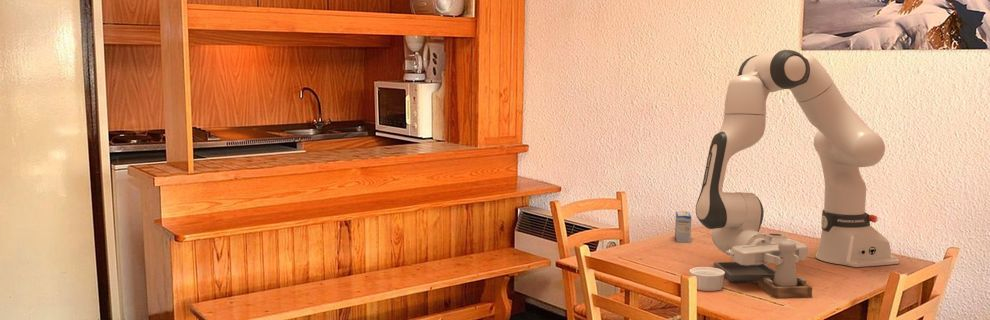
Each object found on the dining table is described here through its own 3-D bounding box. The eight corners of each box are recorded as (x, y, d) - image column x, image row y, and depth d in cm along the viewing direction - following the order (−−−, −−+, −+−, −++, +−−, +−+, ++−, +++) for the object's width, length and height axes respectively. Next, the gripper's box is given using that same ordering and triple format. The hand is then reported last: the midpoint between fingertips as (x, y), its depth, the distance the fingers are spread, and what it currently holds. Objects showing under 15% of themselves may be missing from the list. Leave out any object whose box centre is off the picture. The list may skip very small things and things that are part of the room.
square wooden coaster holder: (795, 286, 225) (795, 273, 225) (811, 297, 215) (812, 284, 215) (758, 286, 224) (758, 274, 224) (773, 298, 214) (773, 285, 214)
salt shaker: (797, 295, 216) (800, 245, 214) (773, 293, 218) (776, 243, 216) (795, 288, 222) (798, 239, 220) (772, 286, 223) (774, 238, 221)
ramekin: (702, 293, 218) (703, 277, 218) (682, 284, 226) (682, 268, 226) (731, 289, 222) (732, 273, 221) (709, 281, 230) (710, 265, 229)
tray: (761, 268, 242) (761, 261, 242) (780, 281, 229) (781, 274, 229) (713, 269, 241) (714, 262, 241) (730, 282, 228) (730, 275, 228)
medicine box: (674, 236, 282) (675, 210, 280) (688, 237, 281) (689, 211, 280) (676, 242, 274) (677, 215, 273) (690, 242, 273) (691, 215, 272)
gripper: (722, 239, 227) (754, 251, 214) (787, 233, 234) (822, 245, 221) (721, 263, 228) (753, 276, 215) (786, 256, 235) (821, 269, 222)
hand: (789, 260), depth 218 cm, fingers closed on salt shaker, 3 cm apart
